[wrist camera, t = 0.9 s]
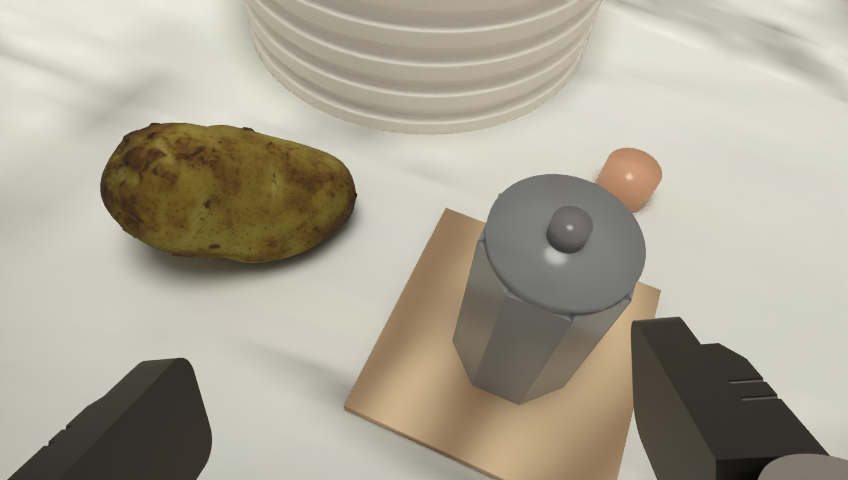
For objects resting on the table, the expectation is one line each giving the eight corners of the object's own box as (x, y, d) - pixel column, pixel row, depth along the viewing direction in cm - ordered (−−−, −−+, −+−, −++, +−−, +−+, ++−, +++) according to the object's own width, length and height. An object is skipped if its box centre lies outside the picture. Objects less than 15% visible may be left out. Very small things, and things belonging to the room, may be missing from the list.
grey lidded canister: (439, 371, 32) (465, 256, 21) (480, 276, 35) (519, 138, 25) (552, 420, 30) (636, 324, 20) (584, 318, 34) (669, 191, 24)
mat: (344, 409, 31) (343, 405, 30) (445, 213, 38) (445, 207, 37) (602, 527, 28) (606, 526, 28) (656, 294, 36) (660, 290, 35)
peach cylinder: (584, 189, 40) (595, 165, 38) (616, 163, 41) (628, 139, 39) (625, 223, 38) (639, 200, 36) (657, 195, 40) (672, 172, 38)
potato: (339, 304, 34) (329, 227, 27) (122, 276, 34) (58, 193, 27) (363, 191, 39) (359, 102, 32) (171, 167, 39) (126, 73, 32)
